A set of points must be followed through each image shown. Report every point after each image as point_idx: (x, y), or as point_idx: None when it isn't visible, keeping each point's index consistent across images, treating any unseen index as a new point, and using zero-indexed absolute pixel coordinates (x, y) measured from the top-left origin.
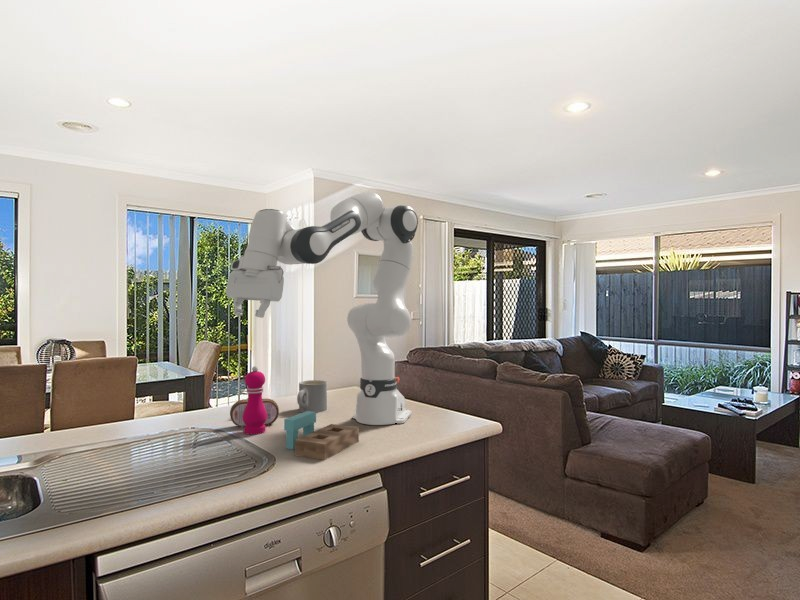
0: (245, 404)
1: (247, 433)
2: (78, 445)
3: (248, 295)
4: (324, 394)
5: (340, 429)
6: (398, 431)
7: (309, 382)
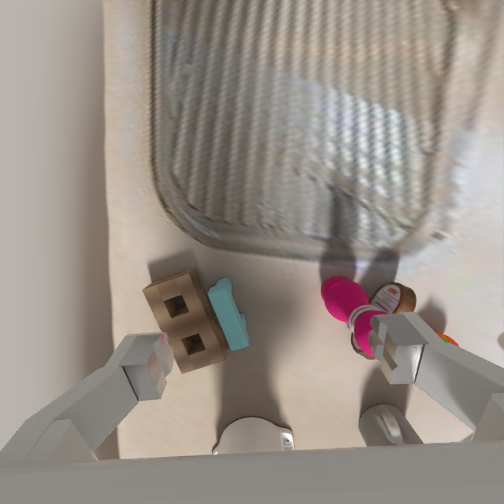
0: (393, 310)
1: (333, 277)
2: (491, 52)
3: (237, 483)
4: None
5: (195, 352)
6: (187, 423)
7: None
